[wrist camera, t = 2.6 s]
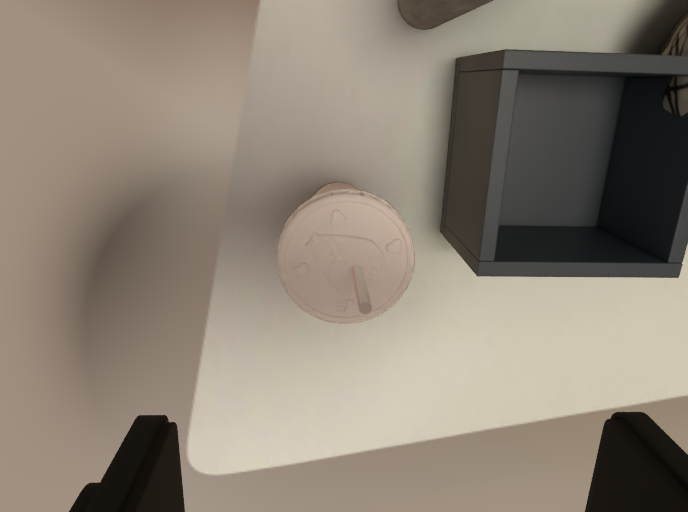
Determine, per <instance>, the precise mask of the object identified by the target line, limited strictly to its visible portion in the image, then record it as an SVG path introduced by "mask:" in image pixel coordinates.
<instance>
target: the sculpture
mask: <svg viewBox="0 0 688 512" xmlns="http://www.w3.org/2000/svg"><path fill="white" fill-rule="evenodd" d="M658 55H677V56H688V12H687V13H686V14H685V15H684V17H683V18H682V19H681V20H680V21H679V22H678V24H677V25H676V26H675V28H674V29H673V30H672V32H671V34H670V35H669V37H668V39H667V40H666V42H665V44H664V46H663V47H662V49H661V51H660V53H659V54H658ZM662 102H663V108H664V109H665V110H667V111H669V112H670V113H672V114H674V115H677V116H683V115H684V114H686V113H687V112H688V76H674V77H671V80H670V82H669V84H668V85H667V87H666V90H665V92H664V94H663V96H662Z"/></svg>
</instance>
